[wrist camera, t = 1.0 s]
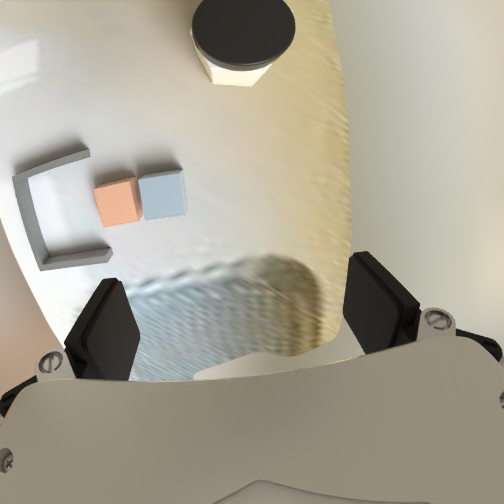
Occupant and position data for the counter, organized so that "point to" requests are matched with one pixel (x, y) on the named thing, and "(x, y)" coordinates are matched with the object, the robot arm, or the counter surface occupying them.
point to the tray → (33, 225)
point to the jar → (241, 38)
